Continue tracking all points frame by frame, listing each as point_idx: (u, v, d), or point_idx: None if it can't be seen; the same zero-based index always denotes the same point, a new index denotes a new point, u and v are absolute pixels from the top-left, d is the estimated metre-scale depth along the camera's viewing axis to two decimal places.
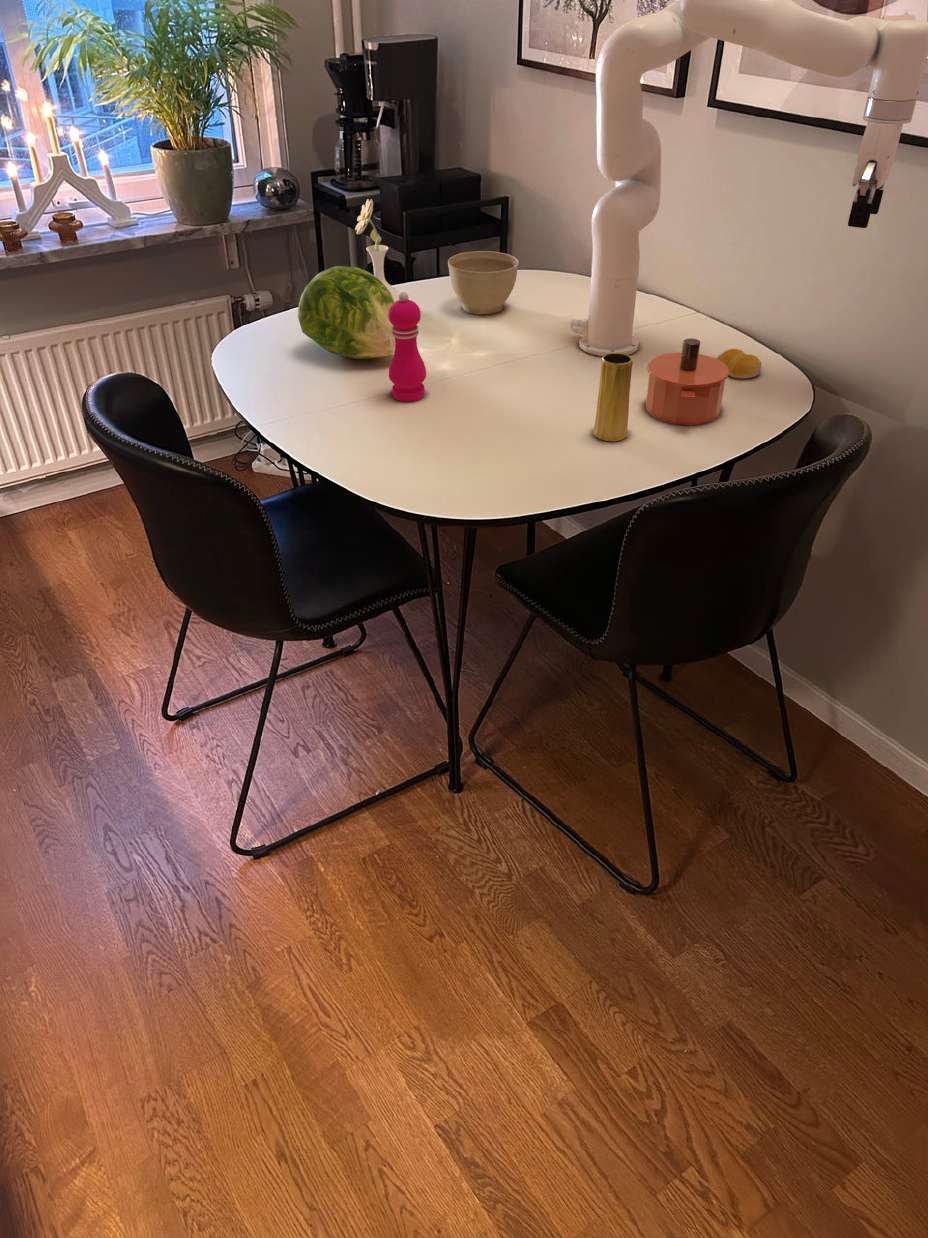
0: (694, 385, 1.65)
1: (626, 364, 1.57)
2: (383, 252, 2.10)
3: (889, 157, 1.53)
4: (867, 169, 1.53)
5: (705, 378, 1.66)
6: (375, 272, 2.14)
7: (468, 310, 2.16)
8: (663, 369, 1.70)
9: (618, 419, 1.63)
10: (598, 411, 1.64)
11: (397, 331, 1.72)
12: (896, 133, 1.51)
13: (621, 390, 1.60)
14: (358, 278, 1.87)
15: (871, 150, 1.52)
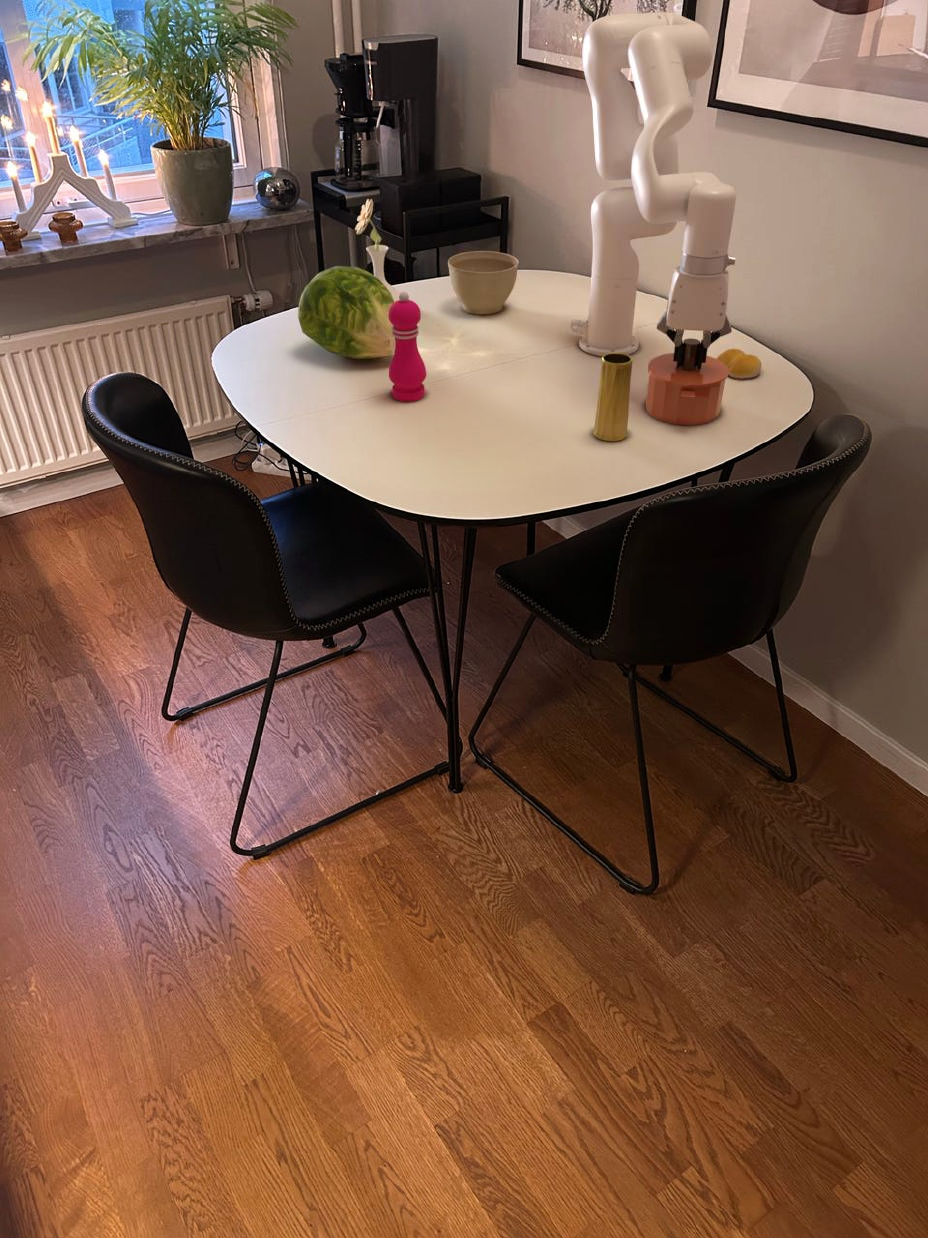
0: (694, 385, 1.65)
1: (626, 364, 1.57)
2: (383, 252, 2.10)
3: (678, 303, 1.61)
4: (663, 314, 1.65)
5: (705, 378, 1.66)
6: (375, 272, 2.14)
7: (468, 310, 2.16)
8: (663, 369, 1.70)
9: (618, 419, 1.63)
10: (598, 411, 1.64)
11: (397, 331, 1.72)
12: (685, 283, 1.59)
13: (621, 390, 1.60)
14: (358, 278, 1.87)
15: None
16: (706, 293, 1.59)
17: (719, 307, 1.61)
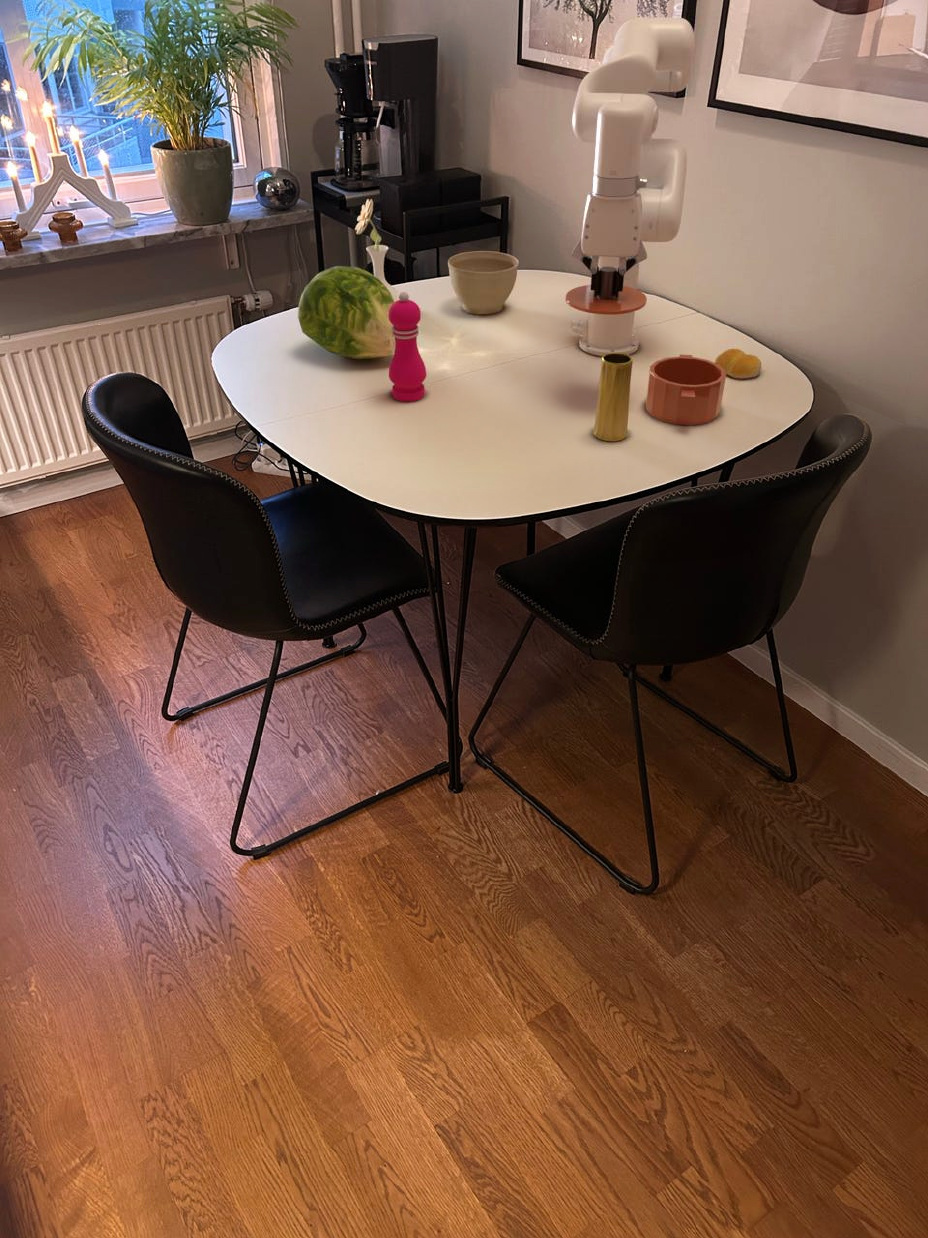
0: (610, 312, 1.63)
1: (626, 364, 1.57)
2: (383, 252, 2.10)
3: (591, 227, 1.60)
4: None
5: (622, 306, 1.65)
6: (375, 272, 2.14)
7: (468, 310, 2.16)
8: (581, 298, 1.68)
9: (618, 419, 1.63)
10: (598, 411, 1.64)
11: (397, 331, 1.72)
12: (597, 206, 1.57)
13: (621, 390, 1.60)
14: (358, 278, 1.87)
15: None
16: (618, 216, 1.58)
17: (632, 231, 1.59)
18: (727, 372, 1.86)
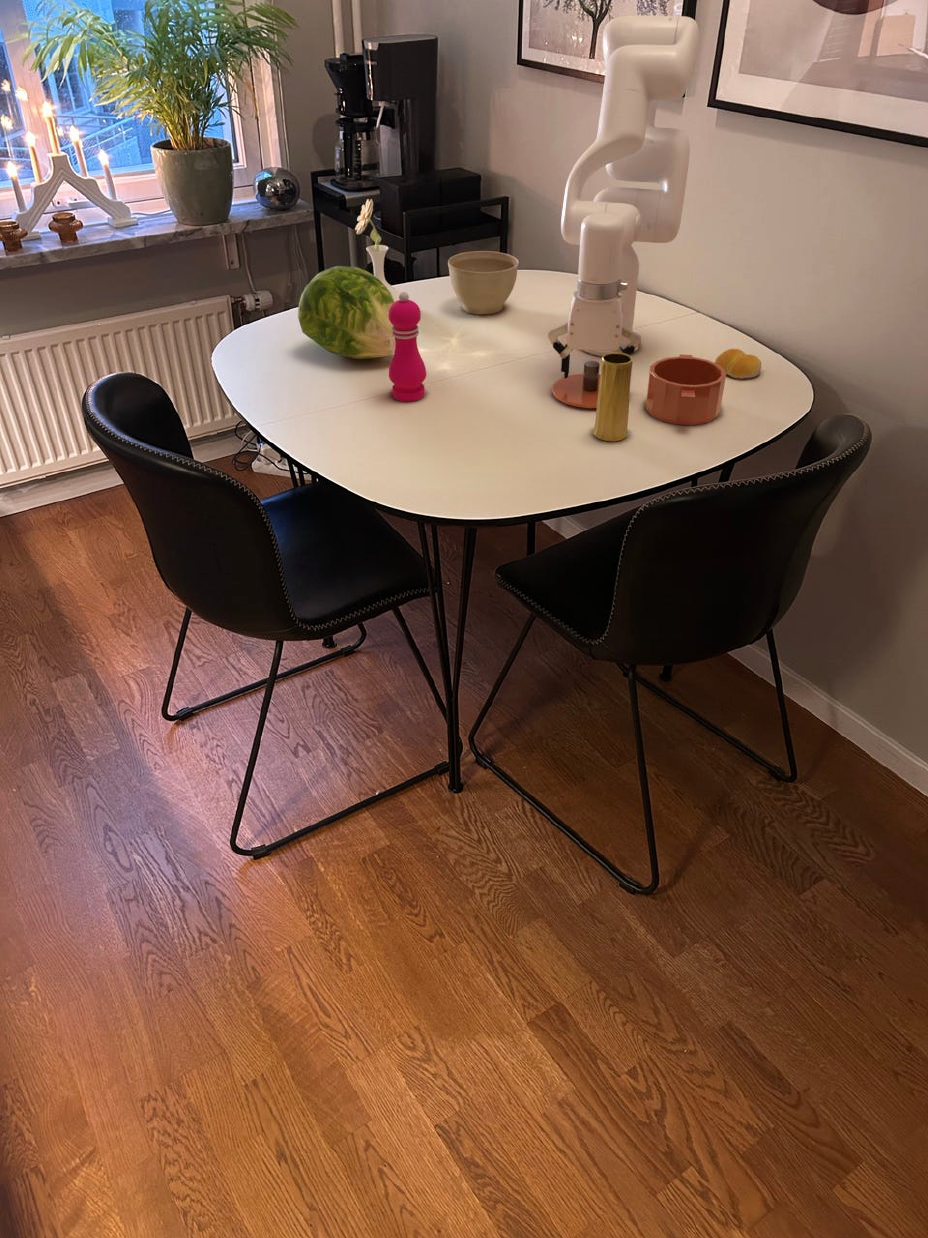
0: (593, 406, 1.74)
1: (626, 364, 1.57)
2: (383, 252, 2.10)
3: (576, 325, 1.71)
4: (559, 327, 1.74)
5: None
6: (375, 272, 2.14)
7: (468, 310, 2.16)
8: (566, 390, 1.80)
9: (618, 419, 1.63)
10: (598, 411, 1.64)
11: (397, 331, 1.72)
12: (581, 307, 1.69)
13: (621, 390, 1.60)
14: (358, 278, 1.87)
15: (569, 313, 1.73)
16: (601, 316, 1.69)
17: (614, 329, 1.70)
18: (727, 372, 1.86)
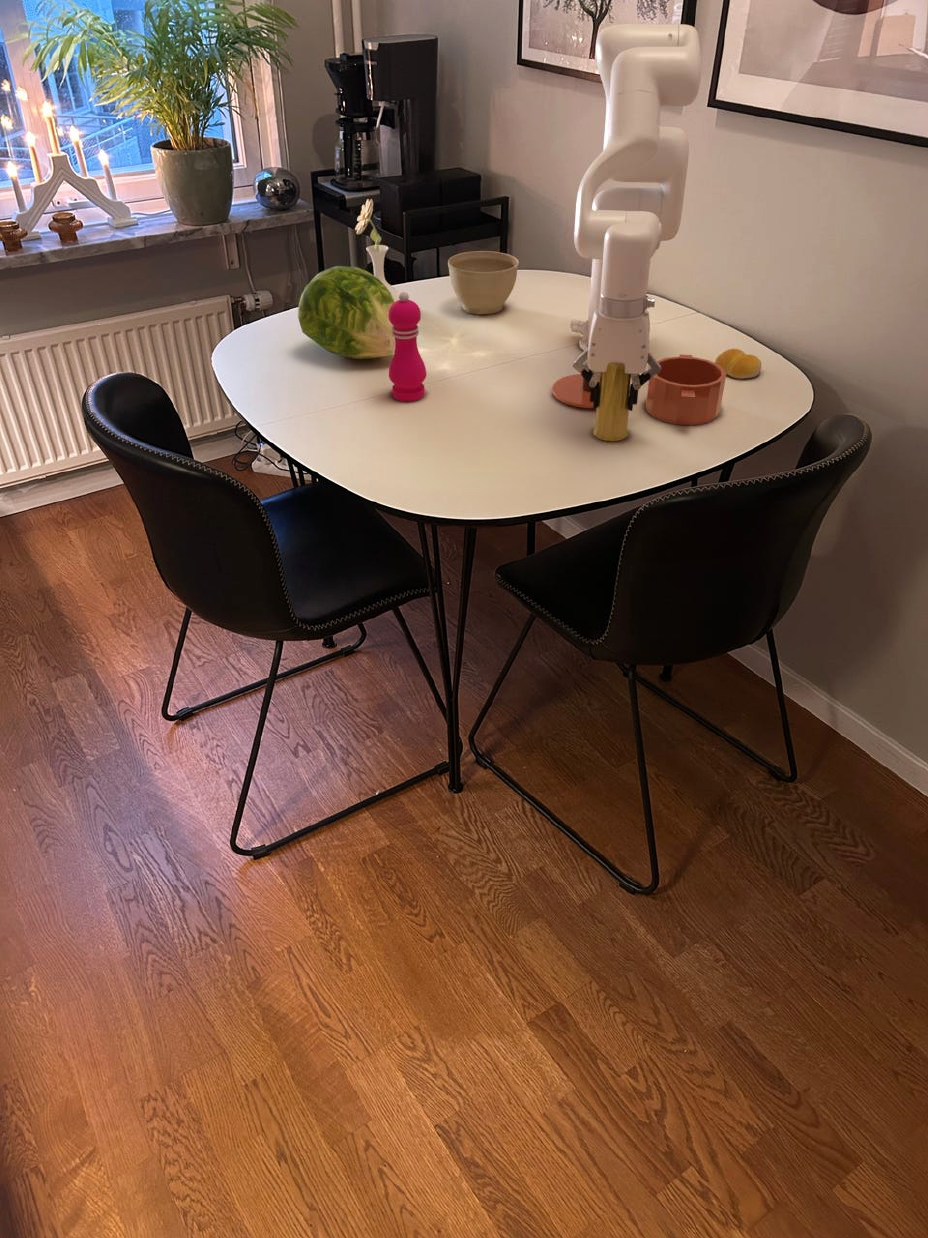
0: None
1: None
2: (383, 252, 2.10)
3: (597, 345, 1.56)
4: (582, 353, 1.60)
5: None
6: (375, 272, 2.14)
7: (468, 310, 2.16)
8: (566, 390, 1.80)
9: (618, 419, 1.63)
10: (598, 411, 1.64)
11: (397, 331, 1.72)
12: (604, 325, 1.53)
13: (621, 390, 1.60)
14: (358, 278, 1.87)
15: None
16: (626, 336, 1.54)
17: (639, 350, 1.55)
18: (727, 372, 1.86)
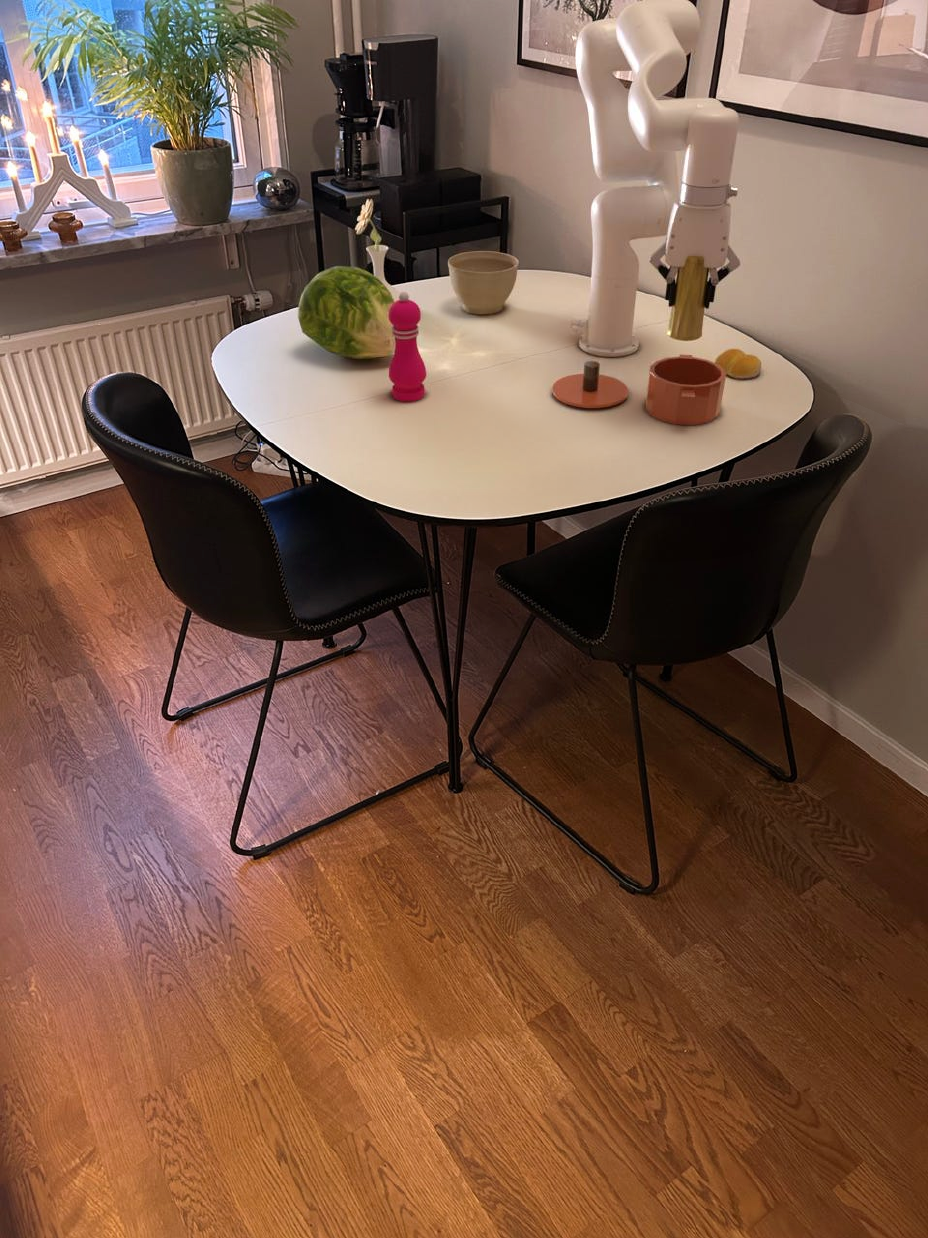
0: (593, 406, 1.74)
1: None
2: (383, 252, 2.10)
3: (677, 237, 1.53)
4: (659, 248, 1.57)
5: (604, 399, 1.76)
6: (375, 272, 2.14)
7: (468, 310, 2.16)
8: (566, 390, 1.80)
9: (694, 317, 1.61)
10: (673, 309, 1.62)
11: (397, 331, 1.72)
12: (685, 216, 1.51)
13: (699, 285, 1.57)
14: (358, 278, 1.87)
15: (668, 225, 1.55)
16: (707, 226, 1.51)
17: (720, 241, 1.53)
18: (727, 372, 1.86)
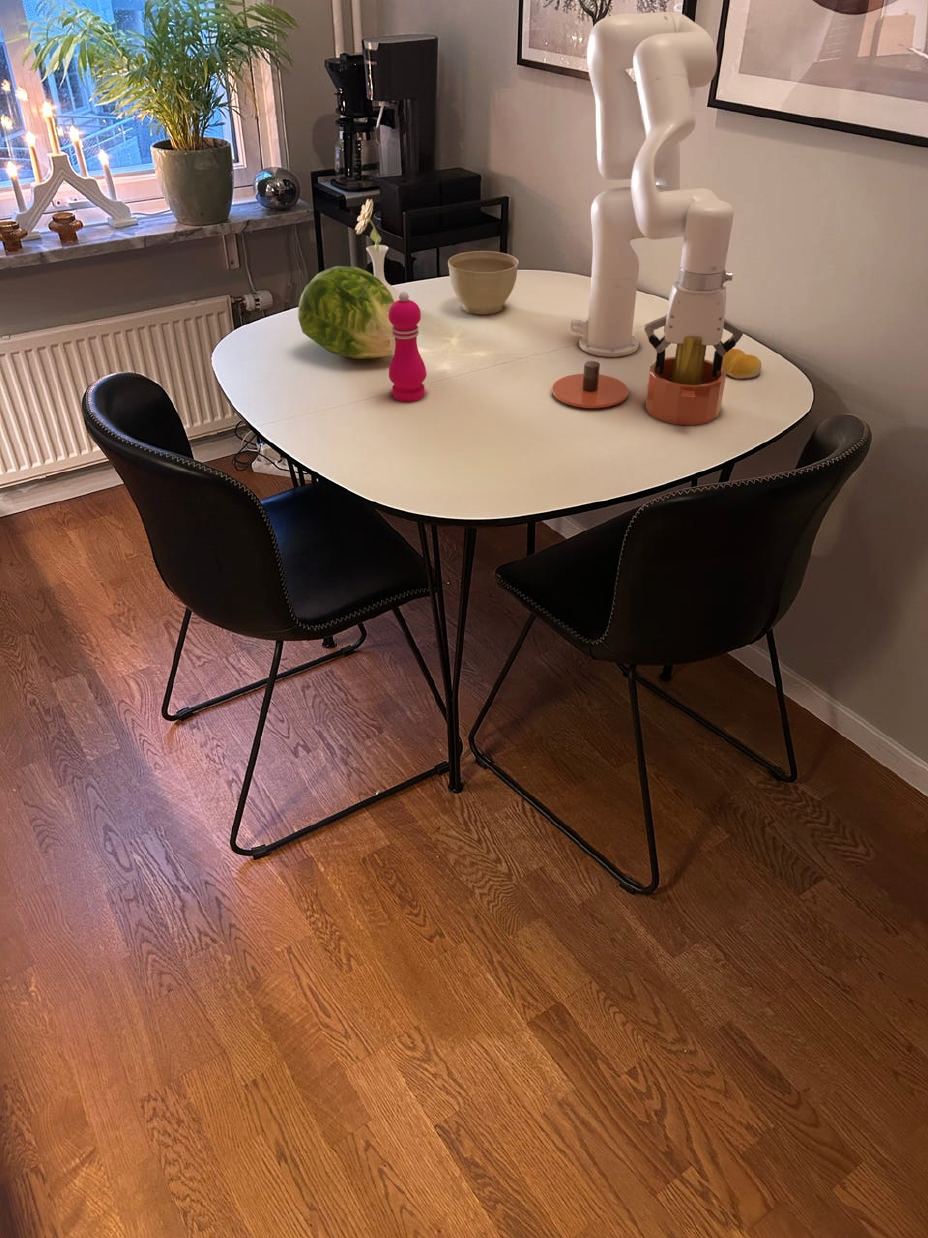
0: (593, 406, 1.74)
1: None
2: (383, 252, 2.10)
3: (676, 318, 1.63)
4: (656, 320, 1.66)
5: (604, 399, 1.76)
6: (375, 272, 2.14)
7: (468, 310, 2.16)
8: (566, 390, 1.80)
9: None
10: None
11: (397, 331, 1.72)
12: (683, 298, 1.61)
13: (696, 363, 1.67)
14: (358, 278, 1.87)
15: None
16: (704, 308, 1.61)
17: (716, 322, 1.62)
18: (727, 372, 1.86)
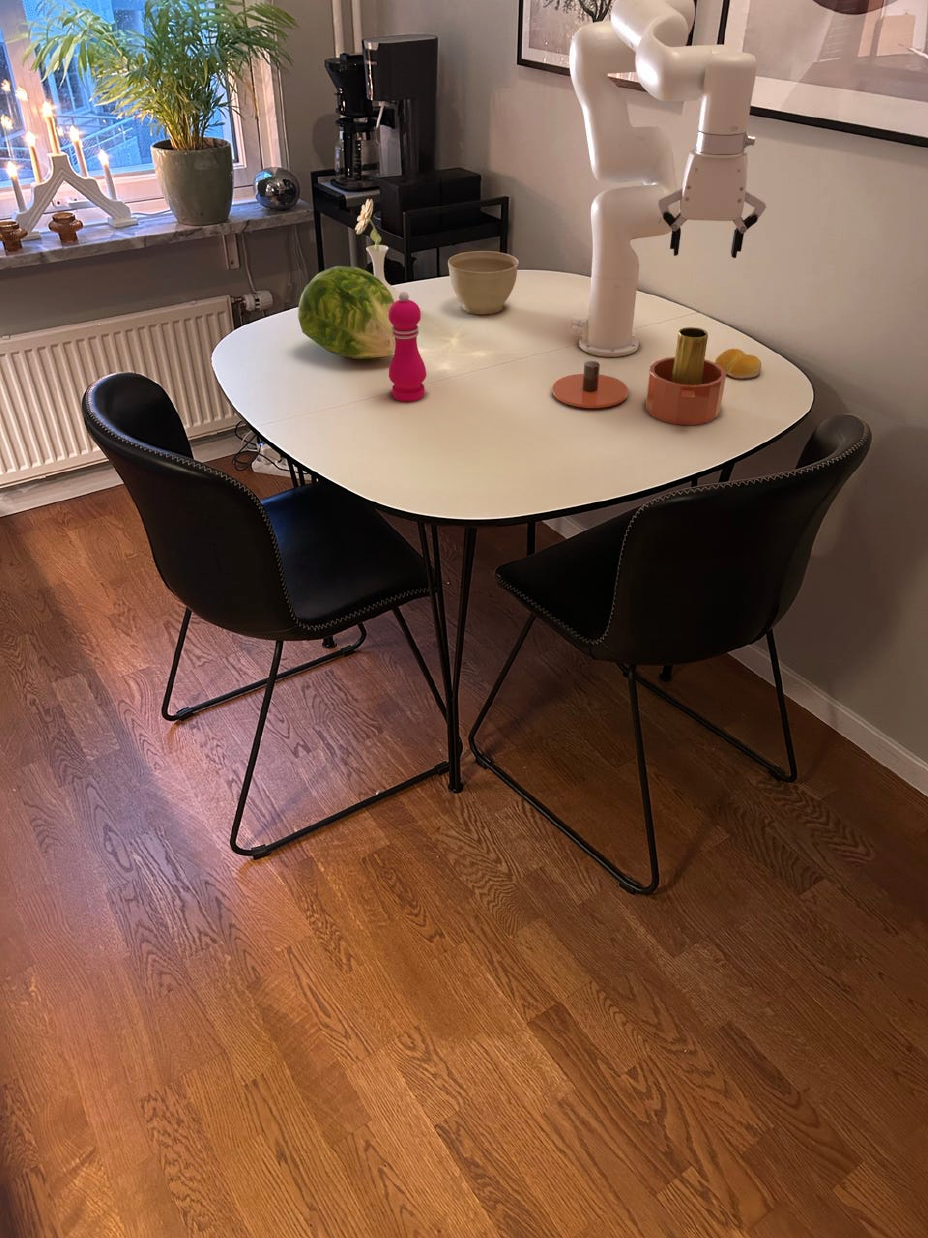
0: (593, 406, 1.74)
1: (702, 338, 1.65)
2: (383, 252, 2.10)
3: (693, 188, 1.50)
4: (671, 193, 1.53)
5: (604, 399, 1.76)
6: (375, 272, 2.14)
7: (468, 310, 2.16)
8: (566, 390, 1.80)
9: None
10: None
11: (397, 331, 1.72)
12: (701, 165, 1.48)
13: (696, 363, 1.67)
14: (358, 278, 1.87)
15: None
16: (723, 177, 1.48)
17: (737, 192, 1.49)
18: (727, 372, 1.86)
